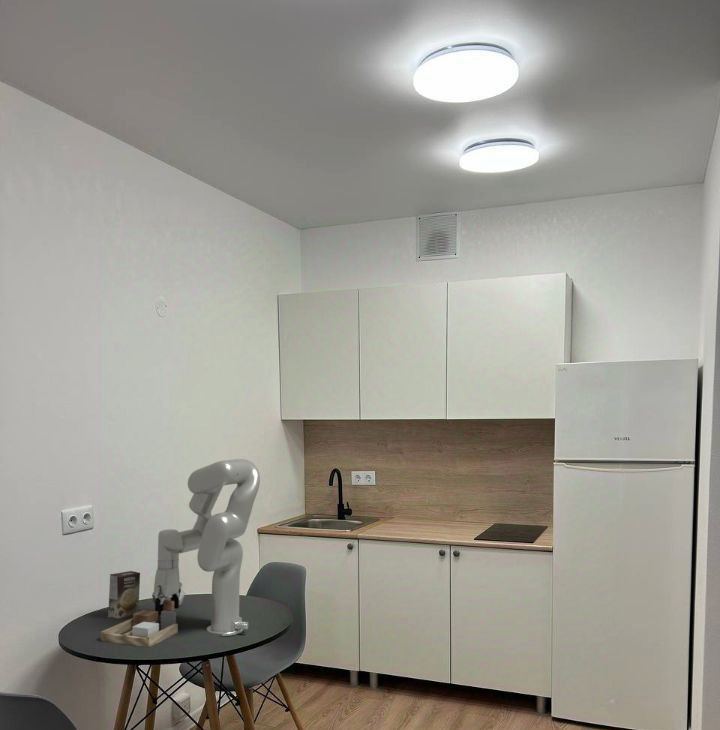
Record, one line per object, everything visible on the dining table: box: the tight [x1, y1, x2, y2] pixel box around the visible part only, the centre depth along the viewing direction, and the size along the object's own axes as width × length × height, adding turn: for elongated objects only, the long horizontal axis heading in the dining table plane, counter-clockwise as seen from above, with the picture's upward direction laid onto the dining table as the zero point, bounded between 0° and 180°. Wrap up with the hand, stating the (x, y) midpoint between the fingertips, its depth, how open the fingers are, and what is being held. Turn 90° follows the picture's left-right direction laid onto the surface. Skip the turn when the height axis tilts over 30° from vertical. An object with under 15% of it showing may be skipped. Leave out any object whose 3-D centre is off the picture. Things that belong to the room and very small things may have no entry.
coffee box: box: [107, 570, 141, 619], centre depth 260 cm, size 9×6×16 cm
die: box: [164, 588, 186, 606], centre depth 276 cm, size 8×9×10 cm
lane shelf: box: [100, 618, 179, 648], centre depth 236 cm, size 19×23×4 cm
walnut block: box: [132, 600, 175, 626], centre depth 248 cm, size 6×17×6 cm, turn 161°
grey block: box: [131, 611, 177, 638], centre depth 234 cm, size 6×17×6 cm, turn 161°
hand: (166, 611), depth 255 cm, fingers open, 9 cm apart
